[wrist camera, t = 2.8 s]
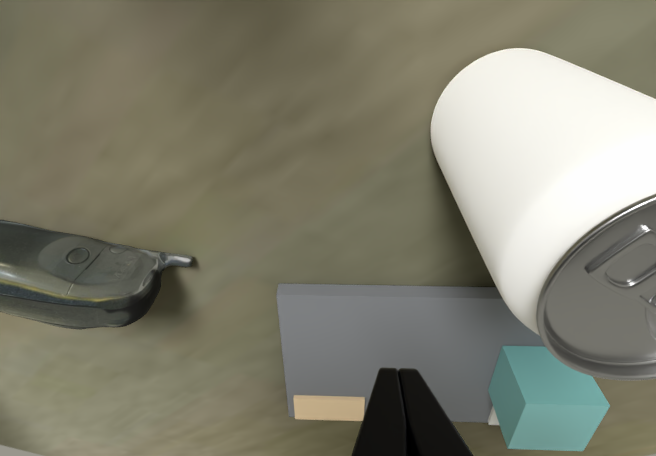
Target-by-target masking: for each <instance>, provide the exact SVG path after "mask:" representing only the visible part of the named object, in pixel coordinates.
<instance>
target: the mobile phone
mask: <svg viewBox="0 0 656 456" xmlns="http://www.w3.org/2000/svg"><path fill="white" fill-rule="evenodd" d="M192 262H193V259H192V256H187V255H180V254H171V253H163V252H157V251H150V250H143V249H137V248H133V247H130V246H125V245H119V244H113V243H107V242H103V241H100V240H96V239H93V238H89V237H84V236H79V235H73V234H67V233H61V232H55V231H49V230H45V229H40V228H36V227H32V226H29V225H24V224H20V223H15V222H10V221H4V220H0V312H4V313H7V314H10V315H14V316H19V317H23V318H27V319H31V320H35V321H38V322H41V323H45V324H49V325H53V326H58V327H64V328H71V329H86V328H96V327H123V326H127V325H129V324H131V323H133V322H135V321H137V320H138V319H140V318H141V317H143V316H144V315H145V314H146V313H147V311H148V310H149V309H150V307H151V305H152V304H153V302H154V300H155V298H156V297H157V295H158V293H159V290H160V287H161V275H162V271H163V270H164V269H165V268H166V267H168V266H171V265H174V266H182V267H190V266H192Z"/></svg>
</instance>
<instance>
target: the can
mask: <svg viewBox="0 0 656 456" xmlns="http://www.w3.org/2000/svg"><path fill="white" fill-rule="evenodd" d="M431 143H432V148H433V151H434V154H435V157H436V159H437V162H438V164H439V166H440V168H441V171H442V173H443V175H444V177H445V179H446V181H447V184H448V186H449V188H450V190H451V192H452V194H453V196H454V199H455V201H456V203H457V205H458V207H459V209H460V211H461V214H462V216H463V218H464V220H465V222H466V224H467V226H468V229H469V231H470V233H471V235H472V237H473V239H474V241H475V243H476V245H477V248H478V250H479V252H480V254H481V256H482V258H483V260H484V262H485V264H486V266H487V268H488V271H489V273H490V275H491V277H492V279H493V281H494V283H495V285H496V287H497V289H498V291H499V292H500V294H501V296H502V298H503V300H504V301H505V303H506V305H507V306H508V308H509V309H510V310H511V312H512V313H513V314H514V315H515V317H516V318H517V319H518V320H519V321H521V322H522V323H523V324H524V325H525V326H526V327H528V328H529V329H531V330H532V331H533V332H535V333H536V334H538V335H539V336H540V337H541V339H542V341H543V343H544V345H545V346H546V348H547V349H548V350H549V352H550V353H551V354H552V355H553V356H554V357H555V358H556V359H558V360H559V361H560V362H562V363H563V364H565V365H566V366H568V367H570V368H572V369H574V370H576V371H578V372H581V373H584V374H587V375H590V376H594V377H598V378H604V379H612V380H649V379H656V99H654V98H652V97H649V96H647V95H645V94H642V93H640V92H638V91H635V90H633V89H631V88H628V87H626V86H624V85H621V84H619V83H617V82H614V81H612V80H610V79H607V78H605V77H603V76H600V75H598V74H595V73H593V72H591V71H588V70H586V69H584V68H581V67H579V66H576V65H574V64H572V63H569V62H567V61H564V60H562V59H560V58H557V57H555V56H552V55H549V54H547V53H544V52H541V51H537V50H532V49H525V48H513V49H505V50H501V51H497V52H494V53H491V54H488V55H486V56H484V57H481V58H480V59H478V60H476V61H474V62H473V63H471V64H470V65H468V66H467V67H465V68H464V69H463V70H462V71H461V72H459V73H458V74H457V75H456V76H455V77H454V78H453V79H452V81H451V82H450V83H449V84H448V85H447V87H446V88H445V90H444V91H443V93H442V94H441V96H440V98H439V100H438V102H437V104H436V107H435V109H434V113H433V116H432V121H431Z"/></svg>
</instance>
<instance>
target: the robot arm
mask: <svg viewBox="0 0 656 456" xmlns="http://www.w3.org/2000/svg"><path fill="white" fill-rule="evenodd" d="M352 456H473V454H472V453H471V451H470V450H469V448H468V447H467V445H466V444H465V442H464V440H463V439H462V437H461V436H460V434H459V433H458V431H457V430H456V428H455V427H454V425H453V423H452V422H451V420H450V419H449V417H448V416H447V414H446V413H445V411H444V409H443V408H442V406H441V405H440V403H439V402H438V400H437V399H436V397H435V396H434V394H433V392H432V391H431V389H430V388H429V386H428V385H427V383H426V382H425V380H424V379H423V377H422V375H421V374H420V372H419V371H418V370H417V369H414V368H400V369H399V370H397V369H396V368H385V367H382V368H380V369H379V371H378V374H377V377H376V380H375V383H374V386H373V389H372V393H371V396H370V399H369V402H368V405H367V408H366V411H365V415H364V418H363V421H362V424H361V427H360V430H359V434H358V437H357V440H356V443H355V446H354V449H353V453H352Z"/></svg>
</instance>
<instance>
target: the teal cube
mask: <svg viewBox="0 0 656 456" xmlns="http://www.w3.org/2000/svg"><path fill="white" fill-rule="evenodd" d="M488 392H489V395H490V398H491V401H492V404H493V407H494V410H495V413H496V416H497V419H498V422H499V425H500V428H501V431H502V434H503V437H504V439H505V442H506V445H507V448H508V449H532V450H563V451H583V450H584V449H585V447H586V445H587V444H588V442H589V440H590V439H591V437H592V435H593V434H594V432H595V430H596V429H597V427H598V425H599V424H600V422H601V420H602V419H603V417H604V415H605V414H606V412H607V410H608V409H609V407H610V405H609V403H608V402H607V400H606V398H605V397H604V395H603V393H602V392H601V390H600V388H599V387H598V385H597V383H596V382H595V380H594V379H593V377H592V376H590V375H587V374H584V373H581V372H578V371H576V370H574V369H572V368H570V367H568V366H566V365H565V364H563V363H562V362H560V361H559V360H558V359H556V358H555V357H554V356H553V355H552V354H551V353H550V352H549V350H548V349H547V348H546V347H543V346H502V348H501V351H500V354H499V357H498V360H497V363H496V367H495V370H494V373H493V376H492V379H491V382H490V385H489V388H488Z"/></svg>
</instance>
